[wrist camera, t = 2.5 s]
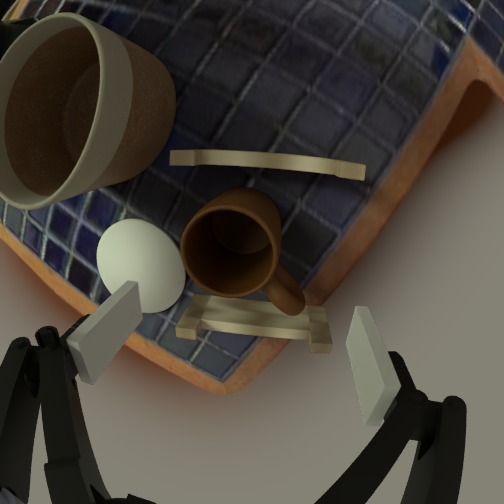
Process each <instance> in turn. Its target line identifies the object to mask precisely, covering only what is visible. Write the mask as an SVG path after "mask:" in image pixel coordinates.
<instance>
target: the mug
mask: <svg viewBox="0 0 504 504" xmlns="http://www.w3.org/2000/svg"><path fill="white" fill-rule="evenodd" d="M280 250H281V219H280V215H279V212H278V209H277V207H276V206H275V204H274V203H273V201H272V200H271V199H270V198H269V197H268V196H267V195H265V194H264V193H262V192H260V191H258V190H256V189H253V188H248V187H237V188H232V189H230V190H227V191H225V192H223V193H221V194H220V195H219V196H217V197H216V198H214V199H213V200H211V201H210V202H209V203H207V204H206V205H205V206H203V207H202V208H201V209H200V210H199V211H198V212H197V213H196V214H195V215H194V217H193V218H192V219H191V220H190V222H189V223H188V224H187V226H186V228H185V229H184V232H183V235H182V238H181V245H180V251H181V258H182V262H183V265H184V267H185V269H186V271H187V273H188V275H189V276H190V277H191V279H192V280H193V281H194V282H195V283H196V284H197V285H198V286H199V287H201V288H202V289H204V290H205V291H207V292H209V293H211V294H213V295H216V296H219V297H224V298H240V297H245V296H248V295H251V294H253V293H255V292H257V291H259V290H260V289H261V290H262V291H263V292H264V293H265V295H266V296H267V297H268V298H269V300H270V301H271V302H272V303H273V304H274V305H275V307H276V308H278V309H279V310H280V311H281V312H283V313H285V314H287V315H289V316H297V315H299V314H300V313H301V312H302V311H303V310H304V309H305V297H304V295H303V292H302V290H301V288H300V287H299V285H298V284H297V282H296V281H295V280H294V278H293V277H292V276H291V275H290V274H289V273H288V272H287V271H286V270H285V269H284V268H283V266H282V265H281V264H280V263H279V261H278V260H279V256H280Z"/></svg>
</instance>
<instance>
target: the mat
mask: <svg viewBox="0 0 504 504" xmlns="http://www.w3.org/2000/svg"><path fill="white" fill-rule="evenodd" d="M97 264H98V269H99V273H100V276H101V278H102V280H103V282H104V284H105V286H106V287H107V289H108V290H109V291H110V293H111V294H113V293H114V292H115V291H116V290H118V289H119V288H120V287H121V286H122V285H123V284H124V283H125V282H126V281H127V280H130V281H136V282H138V286H139V295H140V303H141V310H142V312H144V313H156V312H160V311H164V310H166V309H168V308H169V307H171V306H172V305H173V304H174V303H175V302H176V301H177V300H178V298H179V297H180V295H181V293H182V291H183V289H184V286H185V281H186V269H185V267H184V265H183V262H182V258H181V251H180V249H179V247H178V246H177V244H176V243H175V241H174V240H173V239H172V238H171V236H170V235H169V234H168V233H167V232H166V231H164V230H163V229H162V228H161V227H159V226H157V225H156V224H154V223H152V222H149V221H147V220H143V219H137V218H130V219H124V220H122V221H119V222H117V223H115V224H113V225H112V226H111V227H109V228H108V229H107V230H106V231H105V232H104V234H103V235H102V237H101V239H100V242H99V245H98V249H97Z"/></svg>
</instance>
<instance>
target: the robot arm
mask: <svg viewBox="0 0 504 504" xmlns="http://www.w3.org/2000/svg"><path fill="white" fill-rule="evenodd" d="M15 1H16V0H0V60H1V59H2V57H3V56H4V54H5V53H6V51H7V50H8V49H9V47H10V46H11V45H12V43H13V42H14V41H15V40H16V39H17V38H18V37H19V36H20V35H21V34H22V33H23V32H24V31H25V30H26V29H28V28H29V27H30V26H31V25H33V24H34V23H36V22H37V21H39V20H41V18H36V17H31V18H22V19H15V20H9V21H1V20H2V18H3V17H4V15H5V14H6V13H7V11H8V10H9V9H10V7H11V6H12V5H13V3H14V2H15ZM142 319H143V317H142V310H141V303H140V295H139V286H138V282H136V281H130V280H127V281H126V282H125V283H124V284H123V285H122V286H121V287H120V288H119V289H118V290H116V291H115V292H114V293H113V294H112V295H111V296H110V297H109V298H108V299H107V300H106V301H105V302H104V303H103V304H102V305H100V306H99V307H98V308H97V309H96V310H95V311H94V312H93V313H92V314H91V315H90V314H87V315H85V316H83V317H81V318H80V319H79V320H78V321H77V322H76V323H75V324H74V325H73V326H72V327H71V328H69V330H67V331H66V333H64V335H62V336H61V337H59V334H58V331H57V328H55V327H53V326H45V327H42V328H40V329H39V330H38V331H37V332H36V333H35V337H36V340H37V343H38V345H39V346H32V345H31V343H30V341H29V339H28V338H26V337H19V338H16V339H15V340H13V341H12V343H11V344H10V346H9V348H8V350H7V353H6V355H5V357H4V360H3V362H2V364H1V366H0V504H27V503H28V498H29V490H30V474H31V463H32V452H33V445H34V438H35V431H36V424H37V419H38V414H39V408H40V403H41V411H42V421H43V430H44V437H45V445H46V451H47V456H48V463H45V464H44V471H45V476H46V481H47V485H48V489H49V493H50V498H51V501H52V504H156V503H154V502H151V501H148V500H145V499H142V498H139V497H136V496H134V495H131V494H128V496H127V498H111V496H110V495H109V493H108V491H107V490H106V488H105V485H104V483H103V481H102V478H101V475H100V472H99V469H98V466H97V463H96V460H95V457H94V454H93V450H92V447H91V444H90V440H89V437H88V433H87V429H86V425H85V421H84V417H83V412H82V408H81V403H80V398H79V393H78V388H77V382H76V380H75V376H76V375H77V374H79V376H80V378H81V381H83V382H85V383H88V384H91V385H94V383H95V382H96V380H97V379H98V378H99V376H100V375H101V374H102V372H103V371H104V370H105V368H106V367H107V366H108V364H109V363H110V361H111V360H112V359H113V357H114V356H115V355H116V353H117V352H118V351H119V349H120V348H121V347H122V345H123V344H124V343H125V341H126V340H127V339H128V338H129V336H130V335H131V334H132V332H133V331H134V330H135V328H136V327H137V326H138V325H139V323H140V322H141V321H142ZM345 344H346V347H347V352H348V356H349V360H350V364H351V368H352V372H353V376H354V381H355V385H356V389H357V394H358V399H359V404H360V408H361V413H362V418H363V423H364V426H366V427H367V426H379V425H380V423H381V422H382V420H383V418H384V421H385V422H384V423H383V425H382V426H381V428H380V429H379V430H378V432H377V433H376V434H375V436H374V437H373V438H372V440H371V441H370V442H369V444H368V445H367V446H366V447H365V449H364V450H363V451H362V452H361V454H360V455H359V456H358V457H357V458H356V460H355V461H354V462H353V463H352V464H351V465H350V467H349V468H348V469H347V470H346V471H345V472H344V473H343V474H342V476H341V477H340V478H339V479H338V480H337V481H336V482H335V483H334V484H333V485H332V486H331V488H329V490H327V492H325V494H324V495H322V496H321V498H319V499H318V500H317V501H316V502H315V503H314V504H365V503H366V502H367V501H368V499H369V498H370V497H371V496H372V494H373V493H374V491H375V490H376V489H377V488H378V486H379V485H380V484H381V482H382V481H383V479H384V478H385V477H386V475H387V474H388V472H389V471H390V469H391V468H392V466H393V465H394V463H395V462H396V460H397V459H398V457H399V456H400V454H401V453H402V451H403V449H404V448H405V446H406V444H407V443H408V441H409V440H416V441H418V445H417V449H416V453H415V457H414V461H413V465H412V468H411V472H410V476H409V479H408V482H407V485H406V489H405V492H404V495H403V498H402V501H401V503H400V504H457V500H458V495H459V489H460V484H461V477H462V470H463V461H464V451H465V437H466V413H467V411H466V409H467V408H466V404H465V402H464V401H463V400H462V399H461V398H459V397H457V396H448V397H446V398H445V399H444V401H443V402H442V403H441V402H436V401H430V400H428V397H427V396H426V395H425V393H423V392H422V391H420V390H417V389H416V387H415V385H414V383H413V380H412V378H411V376H410V373H409V371H408V369H407V367H406V366H405V362H404V360H403V358H402V357H401V356H400V355H399V354H398V353H397V352H396V351H390V352H389V351H387V349H386V347H385V345H384V342H383V340H382V337H381V335H380V333H379V331H378V328H377V326H376V324H375V321H374V319H373V317H372V315H371V313H370V311H369V308H368V307H367V306H355V310H354V314H353V318H352V322H351V326H350V329H349V332H348V336H347V340H346V343H345Z"/></svg>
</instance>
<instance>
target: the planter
mask: <svg viewBox="0 0 504 504" xmlns="http://www.w3.org/2000/svg"><path fill="white" fill-rule="evenodd" d="M175 113H176V92H175V87H174V83H173V80H172V78H171V75H170V73H169V71H168V70H167V68H166V67H165V65H164V64H163V63H162V62H161V61H160V60H159V59H158V58H157V57H156V56H154V55H153V54H151V53H149V52H148V51H146V50H144V49H143V48H141V47H139V46H138V45H136V44H134V43H132V42H131V41H129V40H127V39H125V38H124V37H122V36H120V35H118V34H116V33H115V32H113V31H111V30H109V29H107V28H105V27H103V26H101V25H99V24H97V23H95V22H93V21H91V20H89V19H87V18H85V17H83V16H81V15H78V14H75V13H67V12H66V13H57V14H53V15H50V16H47V17H45V18H43V19H41V20H39V21H37V22H36V23H34V24H33V25H31V26H30V27H29V28H28V29H26V30H25V31H24V32H23V33H22V34H21V35H20V36H19V37H18V38H17V39H16V40H15V41H14V42H13V43H12V45H11V46H10V47H9V49H8V50H7V51H6V53H5V54H4V56H3V57H2V59H1V60H0V196H1V197H2V198H3V199H4V200H5V201H6V202H7V203H9V204H10V205H12V206H14V207H16V208H19V209H23V210H34V209H39V208H42V207H45V206H48V205H50V204H53V203H56V202H59V201H62V200H65V199H68V198H71V197H74V196H77V195H80V194H83V193H86V192H89V191H93V190H96V189H99V188H102V187H106V186H109V185H113V184H116V183H120V182H123V181H126V180H129V179H131V178H133V177H135V176H136V175H138V174H140V173H141V172H142V171H144V170H145V169H146V168H147V167H148V166H149V165H150V164H151V163H152V162H153V161H154V160H155V159H156V158H157V156H158V155H159V154H160V152H161V151H162V149H163V148H164V146H165V144H166V142H167V140H168V138H169V135H170V133H171V130H172V127H173V123H174V119H175Z"/></svg>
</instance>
